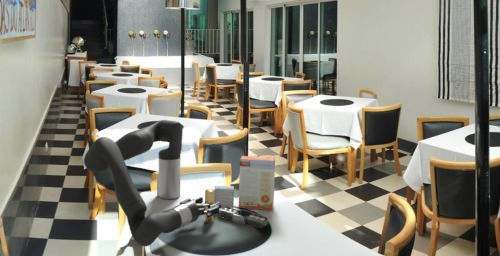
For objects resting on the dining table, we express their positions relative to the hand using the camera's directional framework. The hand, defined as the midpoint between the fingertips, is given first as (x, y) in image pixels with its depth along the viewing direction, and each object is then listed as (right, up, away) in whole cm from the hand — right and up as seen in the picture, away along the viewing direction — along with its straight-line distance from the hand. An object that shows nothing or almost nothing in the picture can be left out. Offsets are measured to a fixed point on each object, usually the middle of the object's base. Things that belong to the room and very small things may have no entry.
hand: (211, 202), depth 169 cm
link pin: (-1, -7, +1) cm, 7 cm away
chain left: (+7, -7, +5) cm, 11 cm away
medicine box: (+4, -5, +15) cm, 17 cm away
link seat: (+12, -7, +2) cm, 14 cm away
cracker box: (+17, -5, +18) cm, 25 cm away
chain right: (+17, -8, -1) cm, 19 cm away
